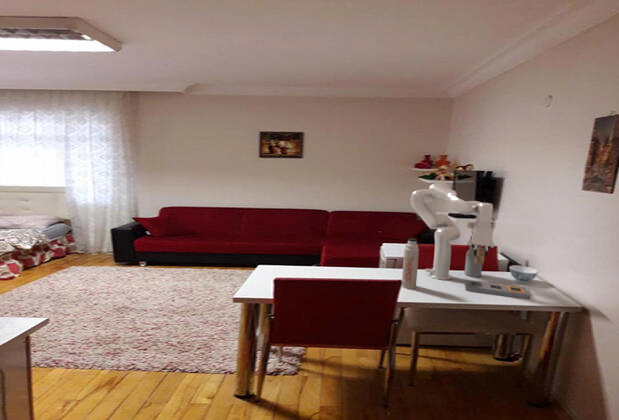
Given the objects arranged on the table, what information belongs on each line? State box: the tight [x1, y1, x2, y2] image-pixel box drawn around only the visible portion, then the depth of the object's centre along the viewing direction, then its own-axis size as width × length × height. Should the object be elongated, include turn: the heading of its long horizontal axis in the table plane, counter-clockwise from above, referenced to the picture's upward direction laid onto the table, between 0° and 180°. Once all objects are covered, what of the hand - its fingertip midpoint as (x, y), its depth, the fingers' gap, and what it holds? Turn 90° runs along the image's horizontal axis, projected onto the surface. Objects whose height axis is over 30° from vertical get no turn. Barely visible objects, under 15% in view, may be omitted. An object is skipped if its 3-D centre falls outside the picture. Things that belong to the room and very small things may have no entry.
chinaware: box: [509, 265, 539, 284], centre depth 223 cm, size 15×15×8 cm
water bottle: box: [464, 230, 485, 278], centre depth 230 cm, size 10×10×28 cm
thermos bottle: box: [401, 237, 420, 290], centre depth 206 cm, size 8×8×28 cm
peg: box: [475, 247, 485, 265], centre depth 205 cm, size 4×4×8 cm
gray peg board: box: [463, 279, 532, 300], centre depth 205 cm, size 32×12×3 cm, turn 72°
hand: (479, 256), depth 205 cm, fingers closed on peg, 4 cm apart
